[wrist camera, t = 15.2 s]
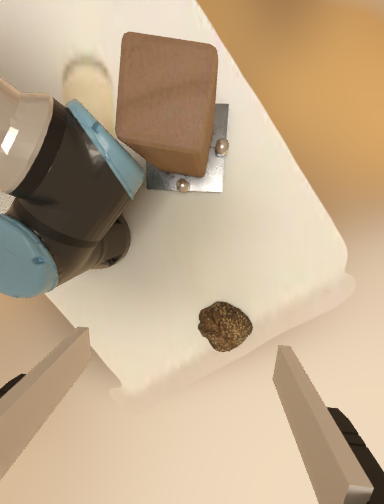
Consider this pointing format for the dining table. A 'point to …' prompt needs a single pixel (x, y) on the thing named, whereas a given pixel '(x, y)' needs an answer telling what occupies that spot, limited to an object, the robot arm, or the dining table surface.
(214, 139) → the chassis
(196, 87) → the wooden block
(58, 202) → the robot arm
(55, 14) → the dining table surface
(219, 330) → the brown rounded lump
